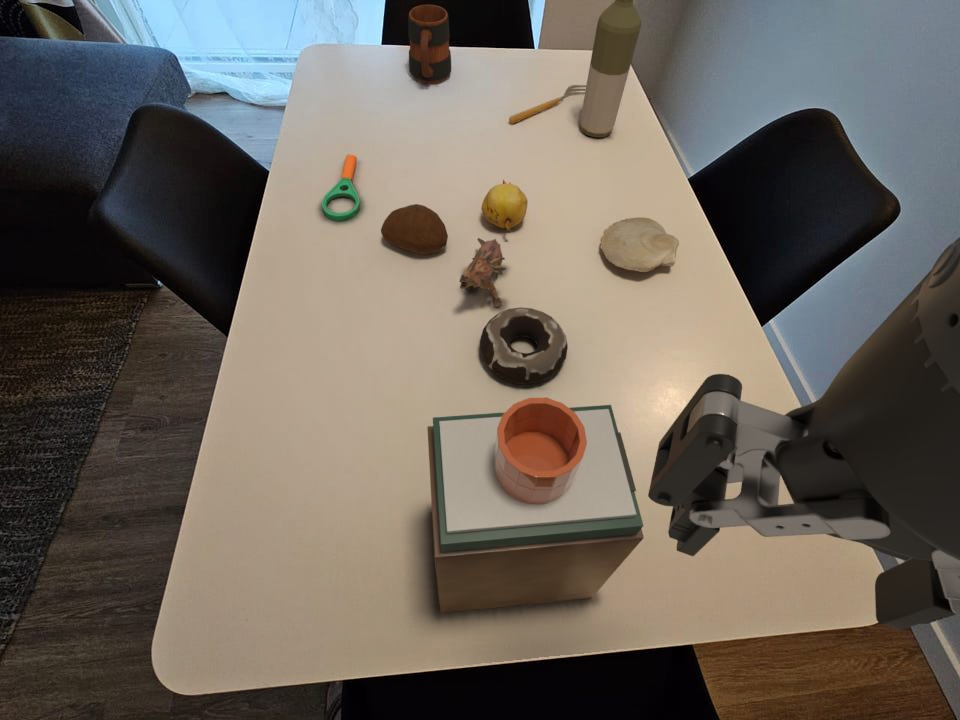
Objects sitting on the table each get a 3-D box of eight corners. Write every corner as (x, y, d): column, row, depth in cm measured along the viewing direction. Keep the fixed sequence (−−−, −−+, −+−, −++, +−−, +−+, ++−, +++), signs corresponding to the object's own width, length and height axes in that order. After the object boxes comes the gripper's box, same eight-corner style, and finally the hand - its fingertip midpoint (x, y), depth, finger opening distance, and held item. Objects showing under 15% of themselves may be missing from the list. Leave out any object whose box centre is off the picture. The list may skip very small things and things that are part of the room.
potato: (389, 223, 91) (385, 187, 86) (453, 233, 91) (453, 198, 85) (377, 253, 87) (372, 218, 82) (443, 264, 87) (443, 229, 81)
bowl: (582, 444, 45) (595, 413, 41) (561, 516, 42) (573, 490, 37) (508, 419, 46) (513, 386, 42) (482, 487, 43) (485, 458, 38)
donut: (471, 326, 80) (472, 308, 77) (551, 314, 82) (555, 296, 78) (489, 396, 74) (491, 379, 70) (576, 381, 75) (581, 364, 72)
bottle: (614, 121, 110) (660, -61, 85) (613, 143, 106) (661, -42, 81) (578, 117, 110) (613, -66, 86) (576, 138, 106) (612, -47, 82)
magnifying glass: (357, 222, 91) (355, 214, 90) (319, 220, 91) (317, 212, 90) (369, 163, 100) (368, 155, 99) (335, 162, 100) (333, 153, 98)
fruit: (534, 216, 85) (532, 173, 91) (490, 205, 84) (491, 162, 89) (518, 247, 91) (517, 205, 96) (477, 238, 89) (478, 195, 95)
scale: (607, 416, 49) (613, 400, 47) (638, 534, 44) (647, 523, 41) (433, 428, 48) (432, 413, 46) (441, 552, 42) (440, 542, 40)
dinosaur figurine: (499, 322, 81) (504, 277, 73) (458, 317, 81) (459, 271, 73) (509, 254, 88) (514, 207, 81) (472, 249, 89) (473, 202, 81)
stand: (572, 497, 66) (610, 412, 50) (592, 597, 60) (644, 538, 43) (434, 509, 65) (427, 426, 48) (440, 613, 58) (434, 557, 42)
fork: (514, 119, 106) (592, 84, 113) (508, 112, 107) (586, 78, 114) (511, 129, 109) (587, 95, 116) (505, 123, 109) (582, 88, 116)
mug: (403, 92, 113) (399, 31, 104) (412, 61, 120) (409, 1, 110) (447, 96, 113) (446, 35, 103) (453, 64, 120) (453, 4, 110)
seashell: (584, 241, 91) (587, 227, 88) (643, 219, 94) (648, 206, 92) (626, 291, 85) (631, 277, 83) (688, 266, 88) (694, 253, 86)
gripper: (762, 388, 12) (608, 590, 25) (1700, 663, 9) (967, 727, 22) (783, 178, 16) (641, 446, 29) (1428, 320, 13) (947, 546, 26)
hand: (782, 567), depth 26 cm, fingers open, 8 cm apart
